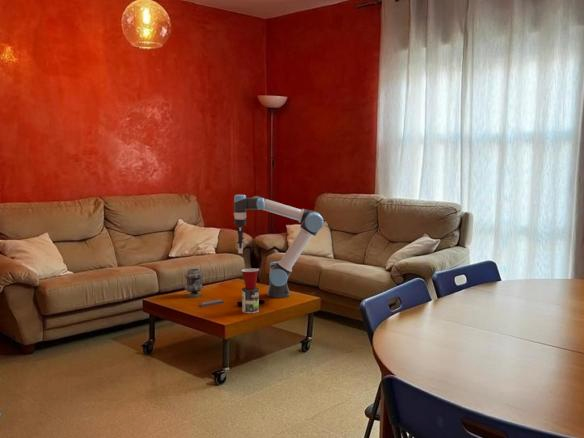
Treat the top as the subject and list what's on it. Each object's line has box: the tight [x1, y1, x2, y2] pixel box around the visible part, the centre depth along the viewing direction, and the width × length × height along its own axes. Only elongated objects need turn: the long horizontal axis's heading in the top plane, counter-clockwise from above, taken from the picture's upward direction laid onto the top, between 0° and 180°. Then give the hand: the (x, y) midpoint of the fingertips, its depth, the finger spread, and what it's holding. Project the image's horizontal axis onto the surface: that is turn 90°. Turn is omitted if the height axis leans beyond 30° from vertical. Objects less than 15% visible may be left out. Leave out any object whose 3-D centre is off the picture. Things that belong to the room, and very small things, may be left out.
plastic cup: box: [241, 267, 260, 290], centre depth 333 cm, size 11×11×12 cm
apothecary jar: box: [184, 268, 204, 298], centre depth 371 cm, size 12×12×18 cm
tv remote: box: [198, 299, 224, 308], centre depth 352 cm, size 15×4×2 cm, turn 128°
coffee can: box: [241, 286, 260, 314], centre depth 335 cm, size 10×10×14 cm
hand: (240, 251), depth 355 cm, fingers open, 13 cm apart
